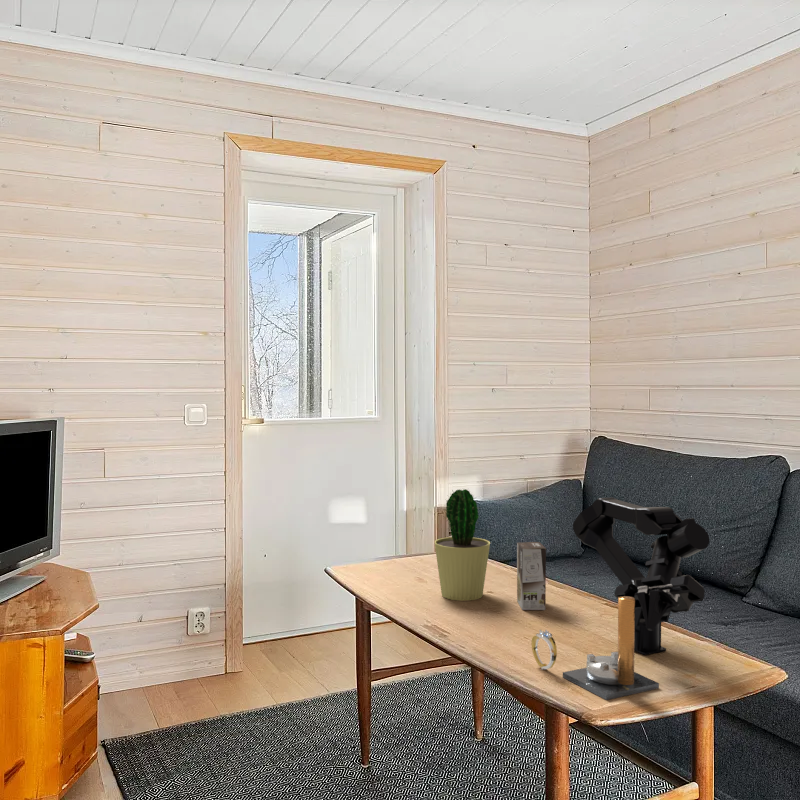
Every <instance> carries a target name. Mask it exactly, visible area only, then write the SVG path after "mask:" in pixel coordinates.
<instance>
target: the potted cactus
mask: <svg viewBox="0 0 800 800" xmlns="http://www.w3.org/2000/svg"><path fill="white" fill-rule="evenodd" d="M451 490H452V493H451V494H450V496H449V495H447V496H448V499H447V498H446V499H445V502H446V503H445V509H443V510H444V511H445V515H444V516H443V517H444V518H445V520H446V519H447V521H448V525H449V528H447V530H449V531H450V536H449V537H448V536H447V537H442V538H438V539H436V540H434V549H435V550H434V551H435V555H436V556H435V558H436V563H437V571H438V578H439V585H440V591H441V596H442V597H443V598H445V599H448V600H452V601H462V602H464V601H466V602H467V601H475V600H479V599H481V598H482V597H483V594H484V586H485V580H486V575H487V567H488V562H489V561H488V560H489V553H490V548H491V547H490V544H491V542H490V541H489V540H487V539H484V538H479V537H476V535H475V534H476V529H477V528H476V523H477V525H479V524H480V523H479V521H478V520H479V519H480V515H479V511H480V510H479V509H480V508H481V507H478V503H477V502H478V500H475V499H476V497H474V495H473V494H472V493H471V491H470V489H469V488H467V489H465V488H462V489H461V488H460V489H457V490H455V491H454V490H453V489H451Z"/></svg>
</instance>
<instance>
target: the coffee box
mask: <svg viewBox="0 0 800 800" xmlns="http://www.w3.org/2000/svg"><path fill="white" fill-rule="evenodd" d="M546 571H547V548H546V546H544V545H543V544H542V543H541V542H540V541H529V542H528V541H525V542H516V600H517V603H518V605H519V607H520V608H521V610H522V611H546V599H547V598H546V595H547V594H546V591H547V588H546V587H547V586H546V584H547V582H546V581H547V580H546V579H547V578H546V577H547V575H546V574H547V572H546Z"/></svg>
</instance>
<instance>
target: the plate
mask: <svg viewBox="0 0 800 800" xmlns="http://www.w3.org/2000/svg"><path fill="white" fill-rule="evenodd" d="M562 678H563V679H566V680H567V681H569V682H571V683H573V684H575V685H576V686H578V687H580V688H583V689H584V690H586V691H589V692H590V693H592V694H594V695H595V696H597V697H600V698H602V699H603V700H606V701H608V700H612V699H613V700H615V699H618V698H621V697H627V696H630V695H631V696H632V695H635V694H640V693H645V692H649V691H653V690H658V689H659V688H660V683H659V682H658V681H655V680H654V679H651V678H648V677H646V676H644V675H642V674H640V673H637V672H636V671H634V684H632V685H623V684H621V685H611V684H603V683H599V682H596V681H593V680H591V679H590V678H588V677H587V667H583V668H582V667H581V668H579V669H577V668H576V669H573V670H568V671H563V672H562Z"/></svg>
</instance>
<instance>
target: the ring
mask: <svg viewBox="0 0 800 800" xmlns="http://www.w3.org/2000/svg"><path fill="white" fill-rule="evenodd" d="M540 639H542V640H543V641H545V643H546V644H547V646H548V648H549V652H550V653H549V654H550V657H549V659H550V660H549V662H548V664H546V663H544V662H543V661H542V659H541V658H540V655H539V652H538V645H539V644H538V643H539V640H540ZM530 644H531V645H530V646H531V650H532V655H533V657H534V659H535V661H536V663H537V665H538V666H539V667H540V669H541V670H544V671H545V670H550V669H551V668H553V667H554V665H555V663H556V659H557V655H558V650H557V645H556V641H555V639H554V638H553V634H552V632H550V631H549V630H548V629H545V631H544V630H542V629H539V633H536V634H535V635H533V636H532V638H531V643H530Z"/></svg>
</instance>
